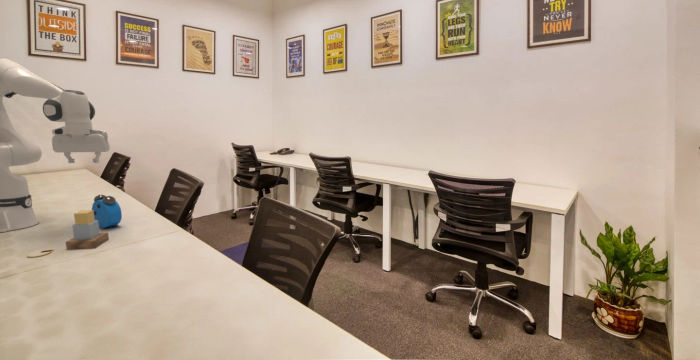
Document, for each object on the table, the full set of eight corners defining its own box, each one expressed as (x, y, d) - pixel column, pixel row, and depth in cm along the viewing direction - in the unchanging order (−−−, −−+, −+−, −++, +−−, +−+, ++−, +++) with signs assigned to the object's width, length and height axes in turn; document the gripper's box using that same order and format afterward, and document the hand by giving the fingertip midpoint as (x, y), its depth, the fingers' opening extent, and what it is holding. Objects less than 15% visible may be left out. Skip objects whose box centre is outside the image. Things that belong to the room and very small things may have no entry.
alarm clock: (123, 226, 161) (120, 195, 158) (109, 230, 155) (105, 198, 152) (106, 223, 166) (102, 192, 163) (92, 226, 161) (88, 195, 158)
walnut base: (66, 249, 133) (65, 242, 133) (82, 240, 143) (81, 233, 142) (95, 248, 135) (94, 240, 134) (108, 239, 144) (107, 232, 144)
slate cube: (74, 240, 135) (72, 225, 134) (83, 234, 141) (81, 220, 140) (91, 239, 136) (89, 224, 135) (99, 234, 142) (97, 220, 141)
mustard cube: (75, 224, 135) (73, 213, 134) (82, 221, 139) (81, 210, 138) (88, 224, 135) (86, 213, 134) (94, 220, 140) (93, 210, 139)
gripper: (110, 129, 149) (114, 161, 151) (57, 129, 146) (62, 162, 148) (102, 130, 143) (106, 163, 145) (47, 130, 140) (52, 164, 142)
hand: (84, 162), depth 147 cm, fingers open, 8 cm apart
